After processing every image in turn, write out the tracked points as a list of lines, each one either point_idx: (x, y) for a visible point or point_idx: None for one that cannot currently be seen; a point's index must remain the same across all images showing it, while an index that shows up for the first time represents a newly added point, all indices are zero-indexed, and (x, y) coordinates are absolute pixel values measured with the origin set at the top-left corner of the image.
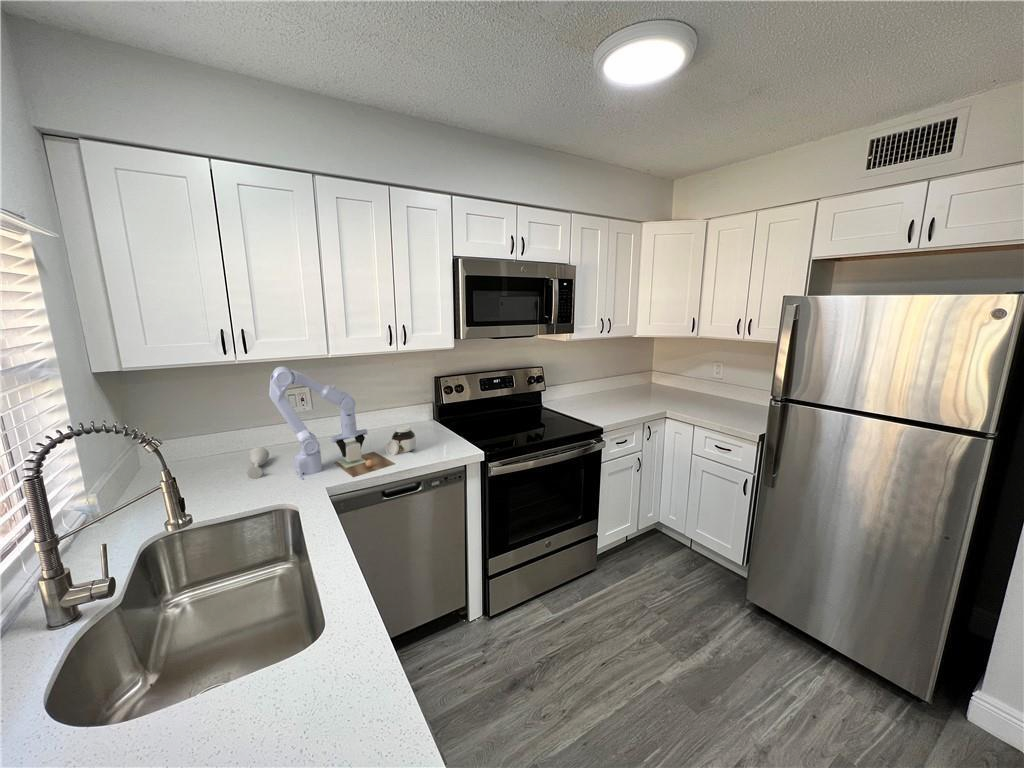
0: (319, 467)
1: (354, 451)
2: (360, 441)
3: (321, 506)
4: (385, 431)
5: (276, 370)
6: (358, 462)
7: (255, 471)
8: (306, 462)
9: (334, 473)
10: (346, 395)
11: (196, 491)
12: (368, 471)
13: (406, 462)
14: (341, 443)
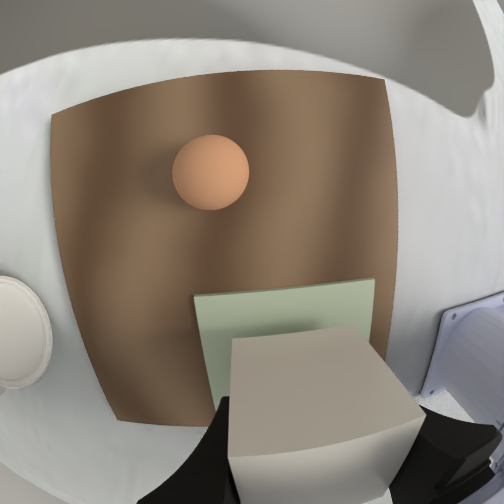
0: (481, 329)
1: (311, 385)
2: (210, 489)
3: (483, 15)
4: (81, 498)
5: None
6: (262, 319)
7: None
8: None
9: (425, 274)
10: None
11: None
12: (262, 86)
13: (9, 148)
14: (498, 436)
